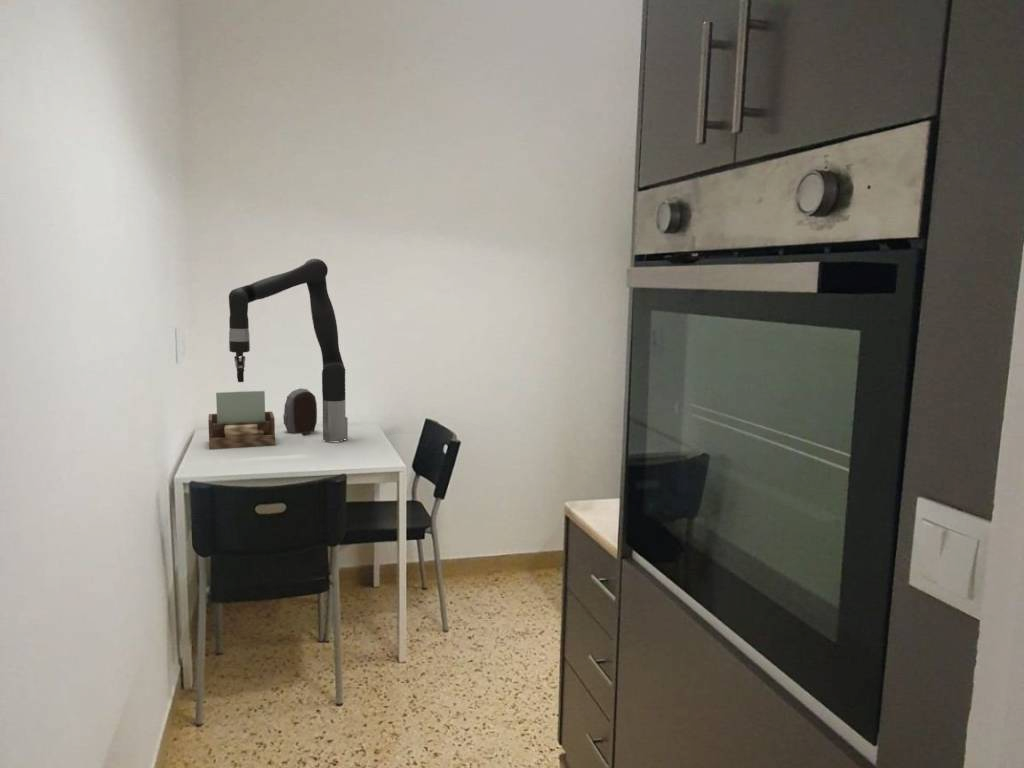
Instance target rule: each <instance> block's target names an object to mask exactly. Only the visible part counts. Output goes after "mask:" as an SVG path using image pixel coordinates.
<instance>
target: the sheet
mask: <svg viewBox="0 0 1024 768" xmlns="http://www.w3.org/2000/svg"><path fill="white" fill-rule="evenodd" d="M265 394H266V393H265V390H249V391H247V390H246V391H242V390H241V391H217V392H216V394H215V400H216V414H217V424H218V423H239V422H261V421H265V412H266V403H265V402H266V399H265V397H266V395H265Z"/></svg>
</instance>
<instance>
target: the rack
mask: <svg viewBox="0 0 1024 768" xmlns="http://www.w3.org/2000/svg"><path fill="white" fill-rule="evenodd" d="M207 420H208V421H207V422H208V445H209V447H208V448H209V450H221V449H222V450H223V449H225V450H226V449H239V448H242V449H243V448H256V447H257V448H258V447H273V446H275V447H276V428H275V427H276V426H275V425H276V424H275V416H274V412H273V411H270V410H269V411H265V421H261V422H239V423H218V424H217V413H208V419H207ZM248 424H257V429H258V430H263V432H264V435H263V436H245V437H226V438H225V430H224V428H225V425H248Z"/></svg>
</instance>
